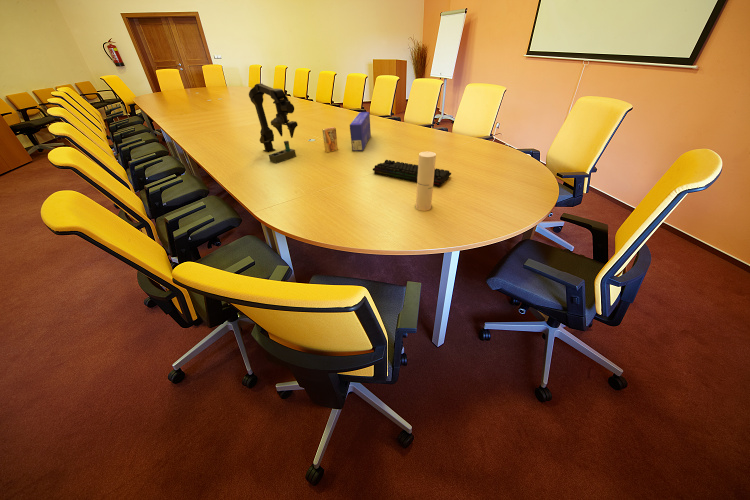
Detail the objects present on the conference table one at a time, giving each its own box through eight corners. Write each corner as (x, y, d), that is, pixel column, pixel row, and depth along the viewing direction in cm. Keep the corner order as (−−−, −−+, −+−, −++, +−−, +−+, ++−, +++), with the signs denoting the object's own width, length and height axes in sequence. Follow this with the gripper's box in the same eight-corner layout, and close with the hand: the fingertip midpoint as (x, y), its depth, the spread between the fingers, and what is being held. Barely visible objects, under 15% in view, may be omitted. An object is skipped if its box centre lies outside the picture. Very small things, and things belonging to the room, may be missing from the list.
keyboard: (450, 177, 163) (452, 168, 160) (440, 188, 152) (441, 179, 149) (386, 165, 182) (386, 157, 179) (372, 174, 171) (372, 166, 168)
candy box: (335, 148, 213) (332, 126, 204) (338, 149, 210) (335, 127, 201) (324, 151, 208) (321, 128, 199) (328, 152, 206) (325, 130, 197)
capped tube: (286, 156, 201) (282, 141, 195) (289, 155, 203) (286, 140, 197) (289, 157, 199) (285, 142, 193) (292, 156, 201) (289, 141, 195)
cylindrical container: (414, 204, 139) (417, 152, 124) (429, 203, 139) (433, 151, 124) (417, 211, 133) (420, 157, 118) (432, 210, 133) (437, 156, 118)
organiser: (270, 161, 194) (268, 155, 192) (290, 154, 205) (288, 148, 202) (276, 163, 191) (274, 156, 188) (296, 156, 202) (294, 149, 199)
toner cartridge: (361, 136, 237) (359, 111, 226) (371, 136, 236) (370, 111, 225) (351, 151, 206) (349, 124, 195) (363, 151, 205) (361, 124, 194)
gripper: (261, 113, 182) (267, 138, 191) (283, 115, 174) (288, 142, 183) (274, 109, 189) (279, 134, 199) (295, 111, 182) (300, 137, 191)
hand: (286, 137), depth 193 cm, fingers open, 9 cm apart
